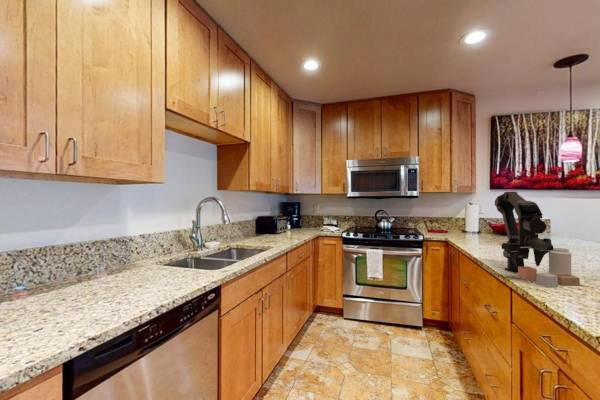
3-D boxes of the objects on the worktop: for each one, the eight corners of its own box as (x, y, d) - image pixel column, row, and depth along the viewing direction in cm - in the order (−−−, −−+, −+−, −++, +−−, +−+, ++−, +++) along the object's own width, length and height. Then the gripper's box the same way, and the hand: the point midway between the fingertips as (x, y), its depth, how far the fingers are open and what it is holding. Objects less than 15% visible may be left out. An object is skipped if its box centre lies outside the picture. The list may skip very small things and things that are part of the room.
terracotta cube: (518, 276, 125) (518, 266, 125) (528, 276, 125) (528, 266, 125) (526, 279, 120) (526, 269, 120) (536, 279, 120) (536, 269, 120)
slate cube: (536, 284, 113) (536, 273, 113) (545, 283, 114) (545, 272, 114) (548, 288, 109) (548, 276, 109) (557, 287, 109) (557, 275, 109)
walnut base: (546, 281, 118) (546, 273, 118) (563, 281, 118) (563, 273, 118) (561, 286, 111) (561, 277, 111) (579, 286, 111) (579, 277, 111)
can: (551, 275, 125) (551, 249, 125) (546, 271, 131) (546, 246, 131) (574, 277, 121) (574, 250, 121) (567, 273, 128) (567, 247, 128)
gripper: (519, 233, 114) (520, 271, 114) (565, 232, 114) (565, 270, 114) (500, 230, 125) (500, 264, 126) (541, 229, 125) (542, 264, 125)
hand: (527, 266), depth 122 cm, fingers open, 9 cm apart
